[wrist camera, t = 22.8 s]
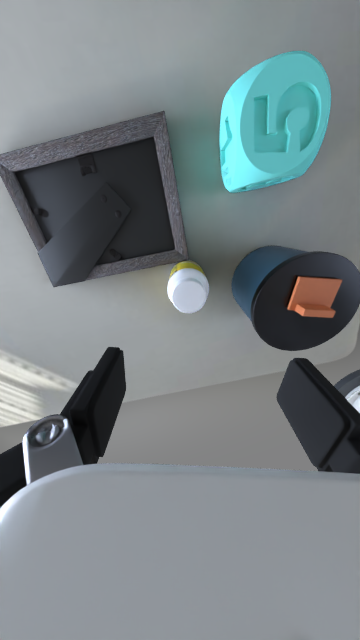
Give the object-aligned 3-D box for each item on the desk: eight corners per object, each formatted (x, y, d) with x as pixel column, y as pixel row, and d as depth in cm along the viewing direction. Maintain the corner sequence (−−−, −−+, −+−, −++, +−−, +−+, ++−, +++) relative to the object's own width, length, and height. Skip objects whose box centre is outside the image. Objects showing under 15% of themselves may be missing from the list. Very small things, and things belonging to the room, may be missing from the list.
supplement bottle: (172, 256, 29) (170, 269, 20) (207, 263, 30) (219, 278, 21) (167, 290, 31) (162, 314, 23) (199, 295, 32) (206, 322, 23)
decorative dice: (216, 116, 22) (234, 63, 15) (287, 99, 22) (340, 36, 14) (222, 196, 26) (239, 184, 18) (283, 183, 25) (324, 166, 18)
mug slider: (325, 311, 21) (338, 318, 19) (286, 308, 21) (296, 316, 19) (339, 278, 19) (355, 284, 18) (297, 276, 19) (309, 281, 18)
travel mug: (289, 316, 34) (335, 353, 24) (224, 312, 33) (243, 349, 23) (313, 246, 29) (386, 256, 19) (237, 240, 28) (269, 248, 18)
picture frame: (60, 283, 31) (188, 258, 29) (53, 287, 29) (189, 260, 27) (2, 160, 24) (165, 118, 22) (-13, 155, 22) (164, 108, 20)
